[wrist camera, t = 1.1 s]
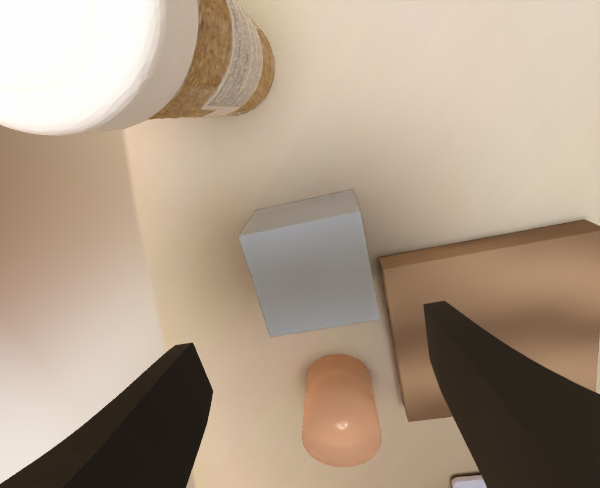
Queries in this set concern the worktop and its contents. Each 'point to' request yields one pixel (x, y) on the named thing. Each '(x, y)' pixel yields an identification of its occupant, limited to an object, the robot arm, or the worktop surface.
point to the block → (310, 264)
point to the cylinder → (340, 412)
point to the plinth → (500, 303)
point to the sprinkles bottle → (127, 63)
